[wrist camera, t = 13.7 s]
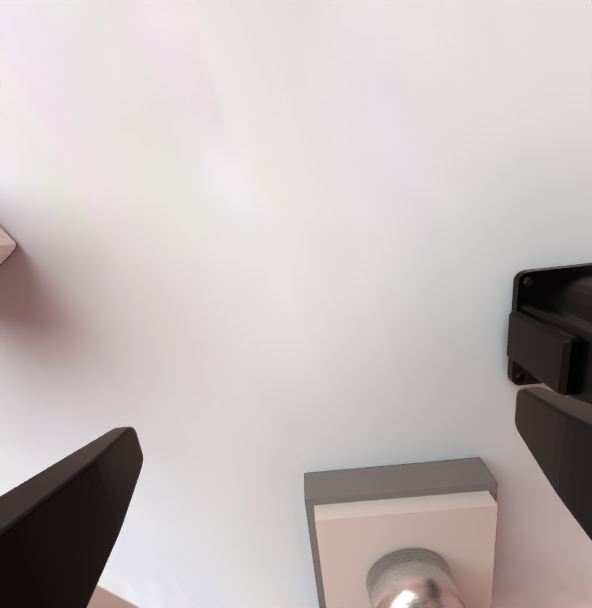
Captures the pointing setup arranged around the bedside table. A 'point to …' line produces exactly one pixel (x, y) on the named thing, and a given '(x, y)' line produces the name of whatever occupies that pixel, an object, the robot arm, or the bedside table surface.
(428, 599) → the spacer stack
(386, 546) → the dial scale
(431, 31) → the bedside table surface
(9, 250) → the skincare box
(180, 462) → the bedside table surface
